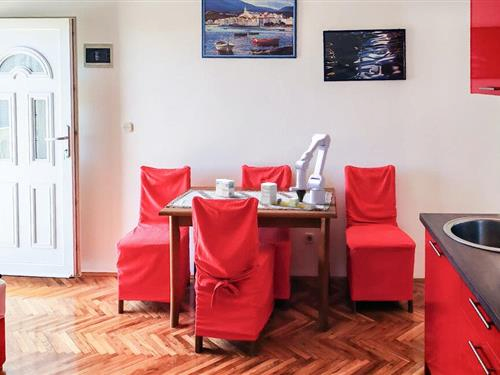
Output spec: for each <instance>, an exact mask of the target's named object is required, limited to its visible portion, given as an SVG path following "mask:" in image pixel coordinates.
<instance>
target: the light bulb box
mask: <svg viewBox="0 0 500 375" xmlns="http://www.w3.org/2000/svg"><path fill="white" fill-rule="evenodd" d="M215 196H216V197H222V198H231V197H234V196H235V180H234V179H224V178H221V179H215Z"/></svg>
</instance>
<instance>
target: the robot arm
mask: <svg viewBox="0 0 500 375" xmlns="http://www.w3.org/2000/svg"><path fill="white" fill-rule="evenodd" d="M331 140H332V139H331V137H330V135H329V134H328V133H327V134H324V133H323V134H322V133H314V134H313V136H312V138H311V141H312V142H311V144H310V146H309V148H308V150H306V151H304V153H303V154H302V156H301V157H300V159H299V160H297V161H296V162H295V165H294V167H295V172H296V185H295V186H290V187H289V191H290V192H295V193H296V195H297V198H298V199H299V203H303V201H304V198H305V196H306V194H307V191H309V201H307V202H306V204H307V203H315V204H316V206H317V205H326V204H327V203H326V200H327V199H326V196H327V195H326V194H327V193H326V191H325V189H324V188H325V186H326V183H325V182H326V178H325V176H324V175H323V172H324V168H325V164H326V160H327V154H328V150H329V148H330V145H331ZM317 149H318V154H317V157H316V163H315V167H314V173H312V174H311V175H310V177H309V178H308V181H307V171H308V169H309V166H310V162H311V161H312V159H313V157H314V153H315V152H316V150H317Z"/></svg>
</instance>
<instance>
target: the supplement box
mask: <svg viewBox="0 0 500 375" xmlns="http://www.w3.org/2000/svg"><path fill="white" fill-rule="evenodd" d="M277 186H278V184H277V183H273V182H265V183H261V184H260V204H263V205H268V206H271V205H275V204H274V201H277V193H278V190H277V189H278V187H277Z"/></svg>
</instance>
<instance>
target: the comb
mask: <svg viewBox="0 0 500 375" xmlns="http://www.w3.org/2000/svg"><path fill="white" fill-rule="evenodd" d="M305 204H306V205H305V208H304V210H313V209H316V207H317V205H316V204H315V203H308V204H307V203H305Z"/></svg>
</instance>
